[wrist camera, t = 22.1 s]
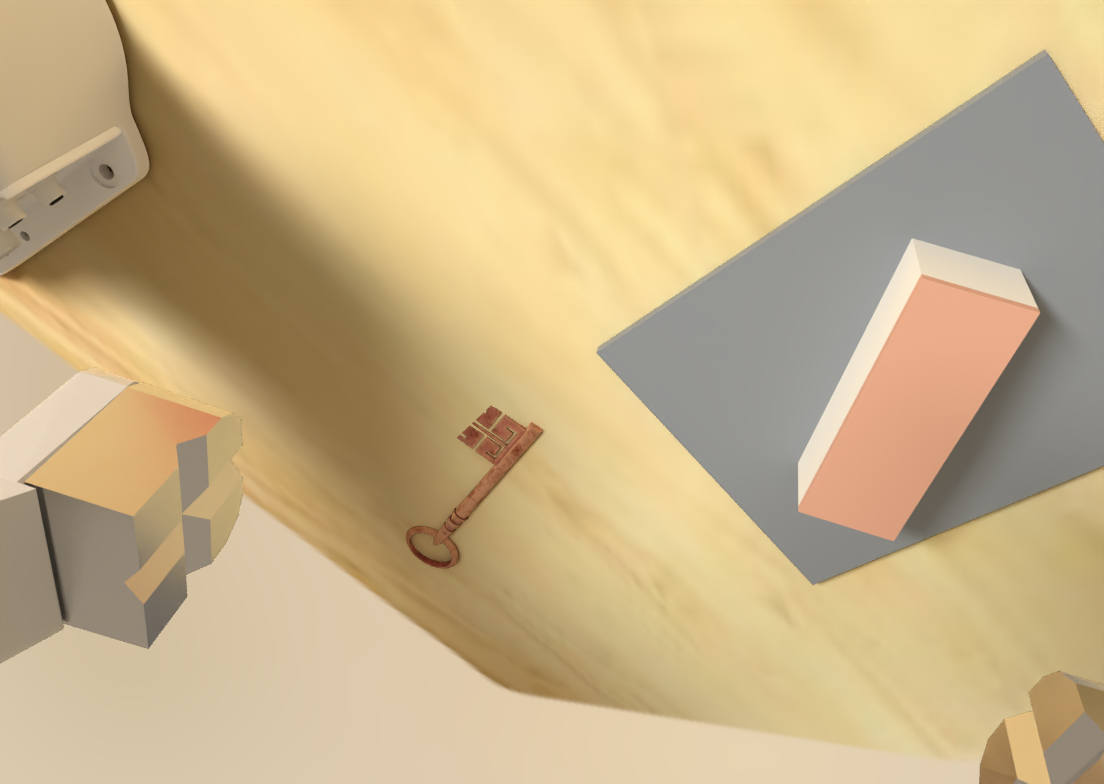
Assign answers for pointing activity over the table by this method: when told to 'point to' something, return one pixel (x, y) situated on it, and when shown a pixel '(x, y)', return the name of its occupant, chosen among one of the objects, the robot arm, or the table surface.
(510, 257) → the table surface
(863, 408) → the block
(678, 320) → the mat
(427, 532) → the key
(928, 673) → the table surface
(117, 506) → the robot arm
